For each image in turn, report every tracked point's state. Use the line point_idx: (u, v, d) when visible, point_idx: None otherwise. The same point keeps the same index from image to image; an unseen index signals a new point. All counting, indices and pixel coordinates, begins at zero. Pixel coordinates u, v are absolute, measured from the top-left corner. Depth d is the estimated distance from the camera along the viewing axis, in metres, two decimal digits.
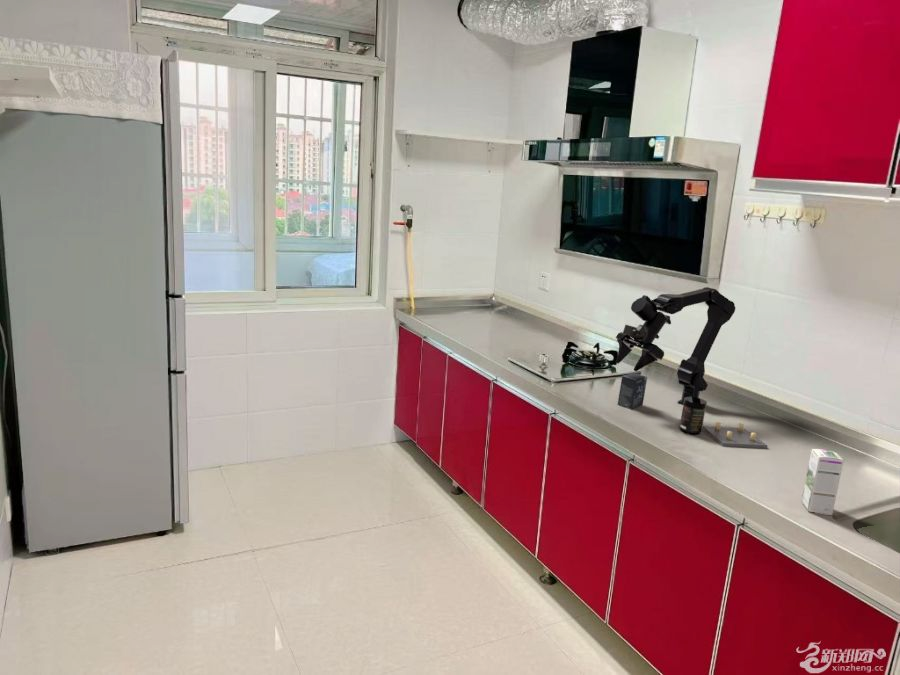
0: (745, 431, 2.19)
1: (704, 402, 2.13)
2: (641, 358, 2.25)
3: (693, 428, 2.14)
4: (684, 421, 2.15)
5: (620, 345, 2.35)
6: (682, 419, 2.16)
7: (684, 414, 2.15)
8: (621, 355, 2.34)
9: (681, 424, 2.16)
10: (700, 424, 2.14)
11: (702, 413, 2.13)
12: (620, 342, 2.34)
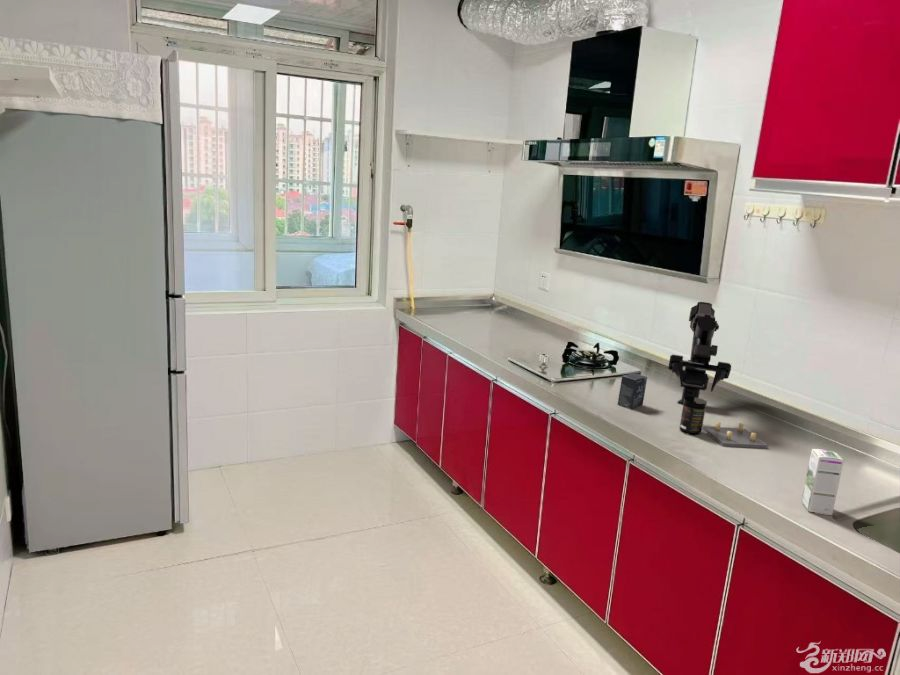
0: (745, 431, 2.19)
1: (704, 402, 2.13)
2: (716, 378, 2.20)
3: (693, 428, 2.14)
4: (684, 421, 2.15)
5: (680, 367, 2.23)
6: (682, 419, 2.16)
7: (684, 414, 2.15)
8: (682, 378, 2.23)
9: (681, 424, 2.16)
10: (700, 424, 2.14)
11: (702, 413, 2.13)
12: (680, 364, 2.23)
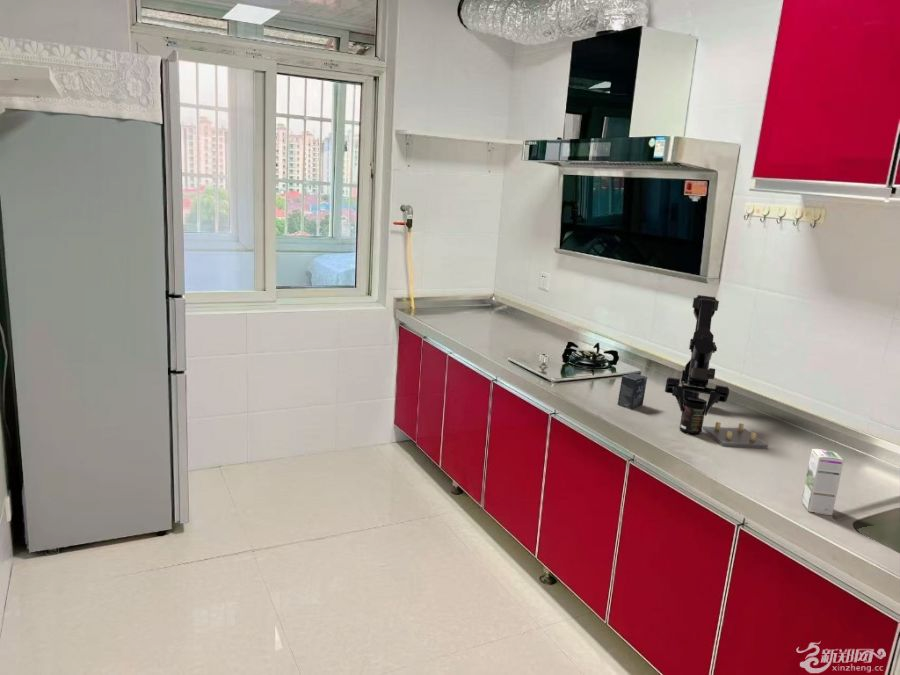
0: (745, 431, 2.19)
1: (704, 402, 2.13)
2: (710, 401, 2.14)
3: (693, 428, 2.14)
4: (684, 421, 2.15)
5: (680, 391, 2.17)
6: (682, 419, 2.16)
7: (684, 414, 2.15)
8: (682, 402, 2.17)
9: (681, 424, 2.16)
10: (700, 424, 2.14)
11: (702, 413, 2.13)
12: (681, 388, 2.17)
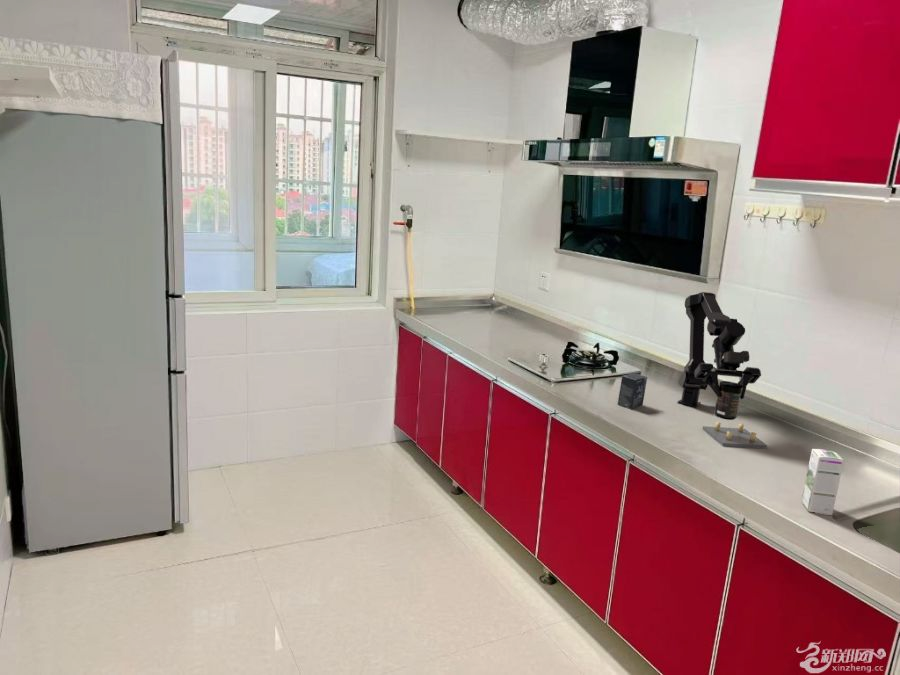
0: (745, 431, 2.19)
1: (740, 386, 2.10)
2: (745, 384, 2.12)
3: (732, 413, 2.10)
4: (722, 407, 2.10)
5: (715, 376, 2.12)
6: (719, 405, 2.11)
7: (721, 400, 2.10)
8: None
9: (718, 410, 2.11)
10: (737, 408, 2.10)
11: (740, 397, 2.10)
12: (715, 373, 2.12)
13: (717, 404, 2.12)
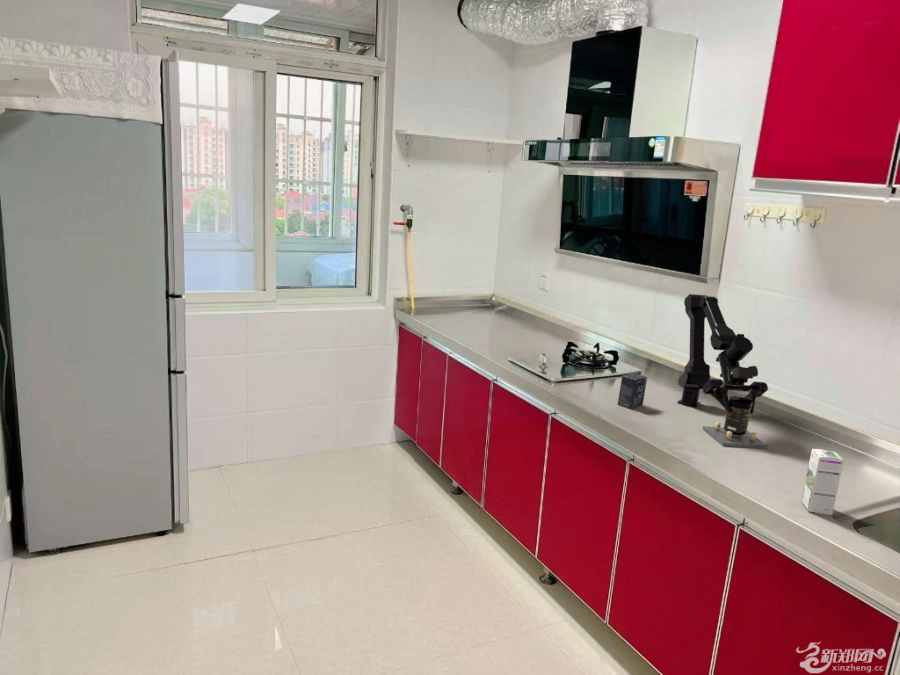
0: None
1: (750, 401, 2.11)
2: (753, 399, 2.13)
3: (743, 428, 2.11)
4: (733, 422, 2.11)
5: (724, 392, 2.12)
6: (730, 420, 2.12)
7: (732, 416, 2.11)
8: None
9: (729, 425, 2.12)
10: (747, 423, 2.12)
11: (750, 412, 2.11)
12: (725, 389, 2.12)
13: (727, 420, 2.12)
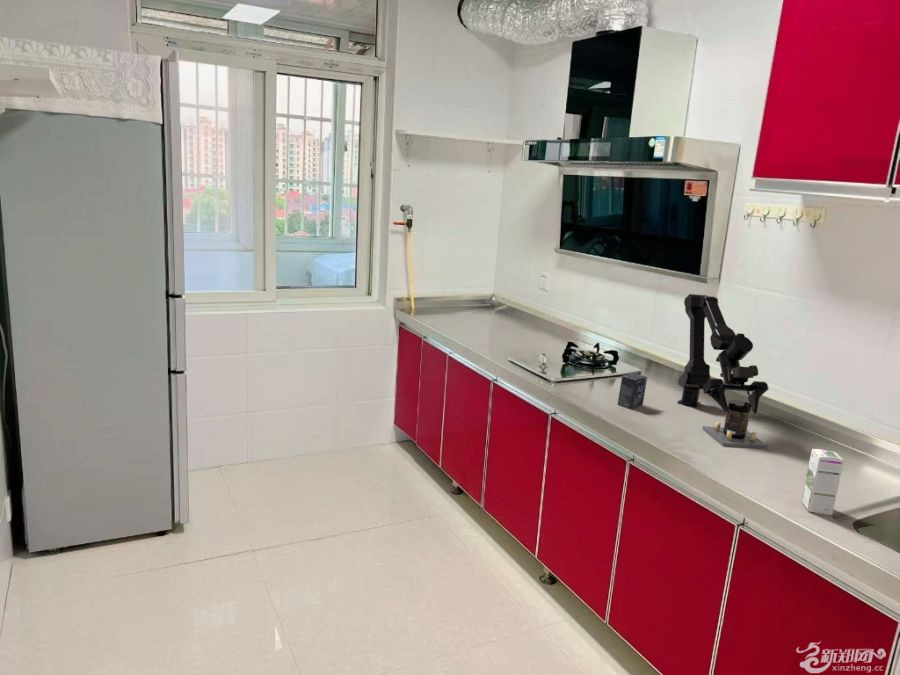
0: None
1: (749, 404, 2.12)
2: (757, 398, 2.13)
3: (742, 432, 2.11)
4: (732, 426, 2.11)
5: (722, 392, 2.12)
6: (729, 424, 2.12)
7: (731, 419, 2.11)
8: None
9: (728, 429, 2.12)
10: (747, 426, 2.12)
11: (749, 416, 2.11)
12: (722, 388, 2.12)
13: (727, 423, 2.13)
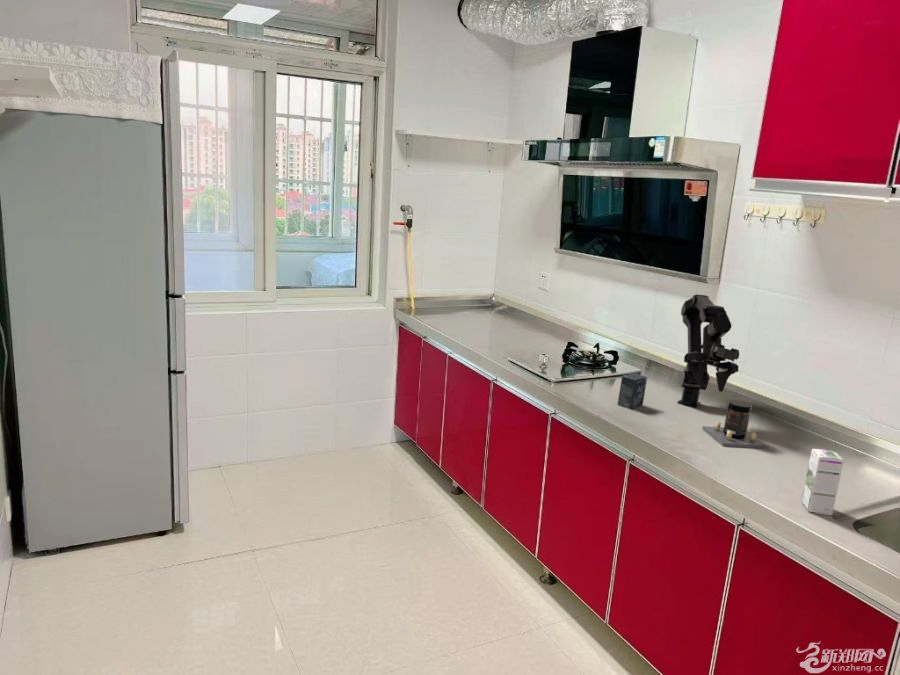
0: None
1: (749, 404, 2.12)
2: (726, 378, 2.25)
3: (742, 432, 2.11)
4: (733, 426, 2.11)
5: (702, 366, 2.20)
6: (729, 424, 2.12)
7: (731, 419, 2.11)
8: None
9: (728, 429, 2.12)
10: (747, 427, 2.12)
11: (749, 416, 2.11)
12: (704, 364, 2.20)
13: (727, 423, 2.13)
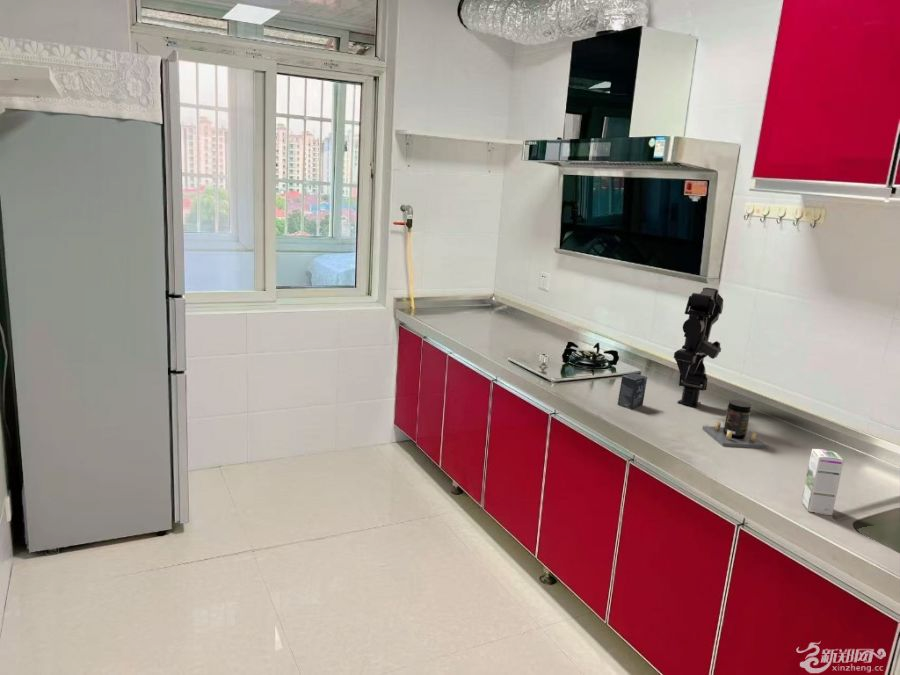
0: None
1: (749, 404, 2.12)
2: (699, 362, 2.34)
3: (742, 432, 2.11)
4: (733, 426, 2.11)
5: (690, 364, 2.25)
6: (729, 424, 2.12)
7: (731, 419, 2.11)
8: None
9: (728, 429, 2.12)
10: (747, 427, 2.12)
11: (749, 416, 2.11)
12: (693, 363, 2.24)
13: (727, 423, 2.13)
